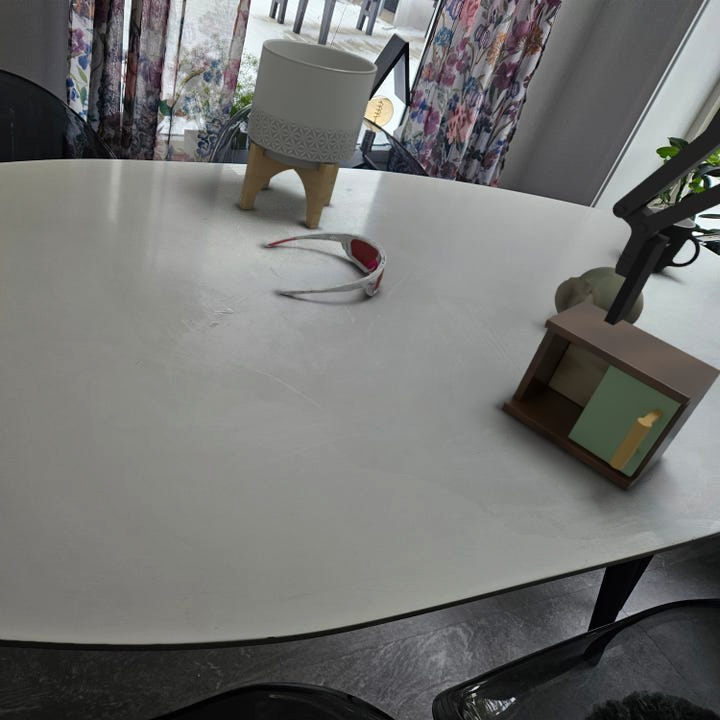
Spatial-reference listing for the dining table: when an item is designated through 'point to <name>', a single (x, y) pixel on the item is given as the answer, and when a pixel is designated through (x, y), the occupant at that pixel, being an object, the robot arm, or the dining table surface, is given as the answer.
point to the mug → (676, 242)
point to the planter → (305, 117)
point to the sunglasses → (360, 253)
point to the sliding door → (623, 420)
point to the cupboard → (586, 370)
